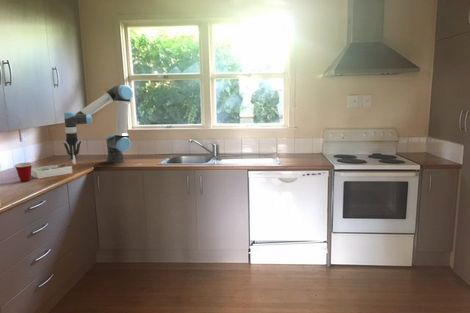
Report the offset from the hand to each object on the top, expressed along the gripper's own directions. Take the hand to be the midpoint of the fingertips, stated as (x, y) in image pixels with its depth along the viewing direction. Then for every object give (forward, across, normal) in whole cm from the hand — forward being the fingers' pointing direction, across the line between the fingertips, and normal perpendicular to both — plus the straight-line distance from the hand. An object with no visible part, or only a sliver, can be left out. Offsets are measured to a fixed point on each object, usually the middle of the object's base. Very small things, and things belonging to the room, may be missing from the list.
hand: (74, 163), depth 274 cm
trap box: (+6, +16, -3) cm, 17 cm away
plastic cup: (+6, +36, +7) cm, 37 cm away
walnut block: (+3, +8, 0) cm, 9 cm away
